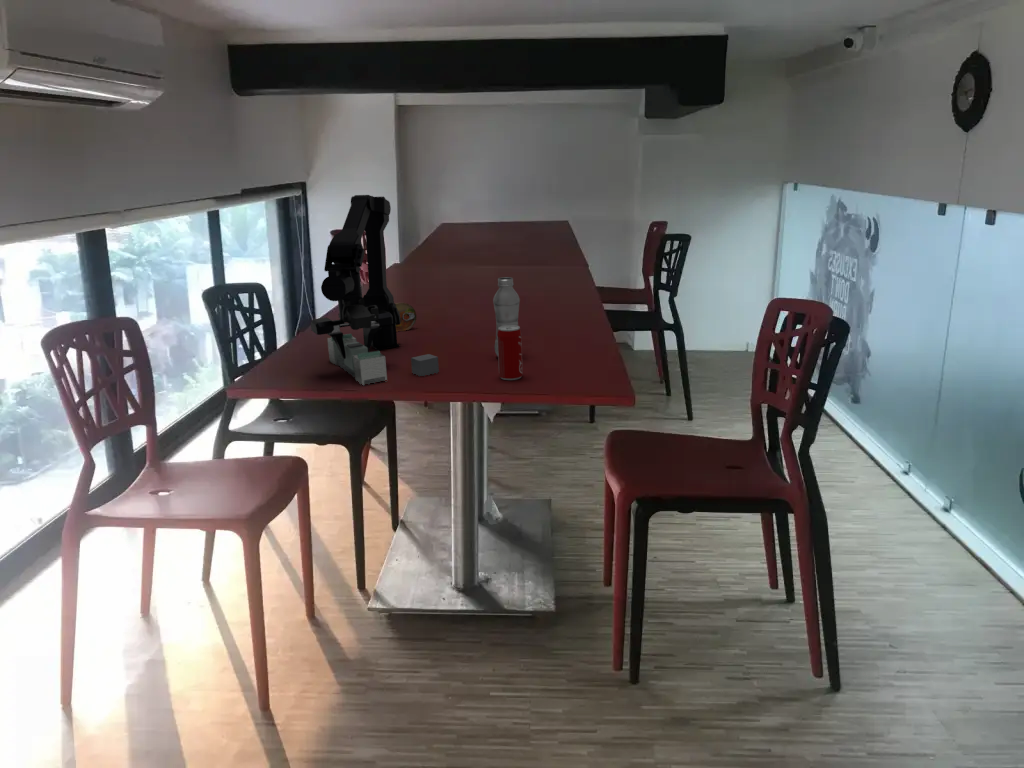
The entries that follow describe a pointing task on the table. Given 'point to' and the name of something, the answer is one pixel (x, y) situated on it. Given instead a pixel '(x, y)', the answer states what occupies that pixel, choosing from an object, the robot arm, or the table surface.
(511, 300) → the plastic bottle
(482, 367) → the table surface
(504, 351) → the soda can
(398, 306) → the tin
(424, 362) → the block
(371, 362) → the rail
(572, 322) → the table surface
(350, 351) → the block
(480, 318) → the table surface
